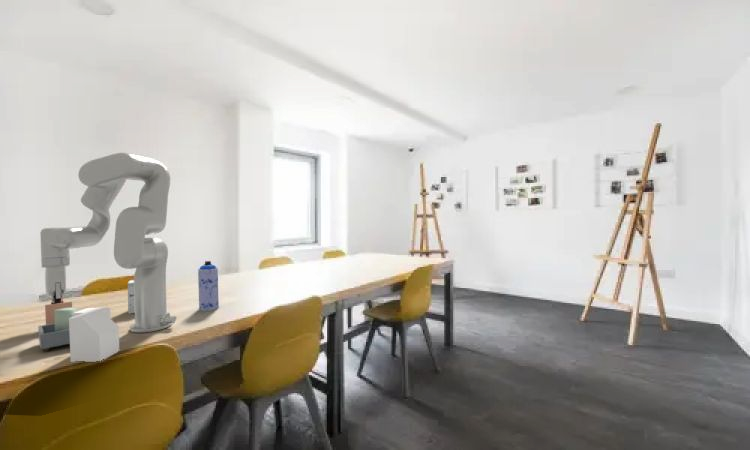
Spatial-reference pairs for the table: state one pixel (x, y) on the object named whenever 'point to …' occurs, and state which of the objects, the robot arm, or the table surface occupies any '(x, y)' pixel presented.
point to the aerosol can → (208, 287)
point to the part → (63, 318)
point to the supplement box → (131, 297)
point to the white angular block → (92, 335)
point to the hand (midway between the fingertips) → (57, 312)
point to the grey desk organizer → (53, 328)
